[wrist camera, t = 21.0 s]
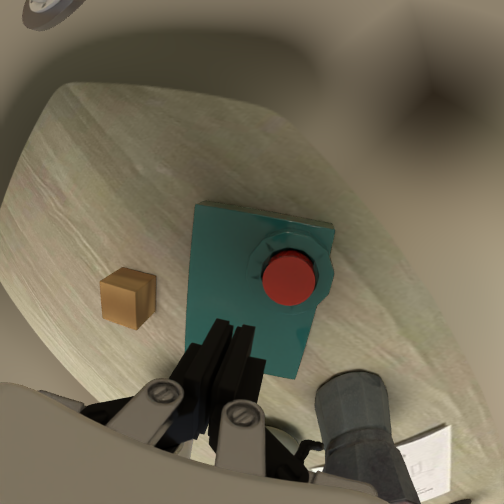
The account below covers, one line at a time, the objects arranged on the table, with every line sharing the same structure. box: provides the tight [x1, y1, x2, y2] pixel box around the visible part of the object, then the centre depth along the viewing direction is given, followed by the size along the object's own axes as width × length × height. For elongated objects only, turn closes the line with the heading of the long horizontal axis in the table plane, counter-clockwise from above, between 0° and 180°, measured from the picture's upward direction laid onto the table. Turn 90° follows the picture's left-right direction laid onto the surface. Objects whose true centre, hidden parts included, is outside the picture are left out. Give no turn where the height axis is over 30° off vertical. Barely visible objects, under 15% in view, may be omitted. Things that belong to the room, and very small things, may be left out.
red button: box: [262, 250, 315, 306], centre depth 23 cm, size 4×4×2 cm
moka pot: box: [294, 372, 421, 504], centre depth 22 cm, size 10×15×20 cm, turn 72°
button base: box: [185, 200, 335, 380], centre depth 27 cm, size 16×12×4 cm
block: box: [100, 267, 156, 330], centre depth 30 cm, size 4×4×4 cm
